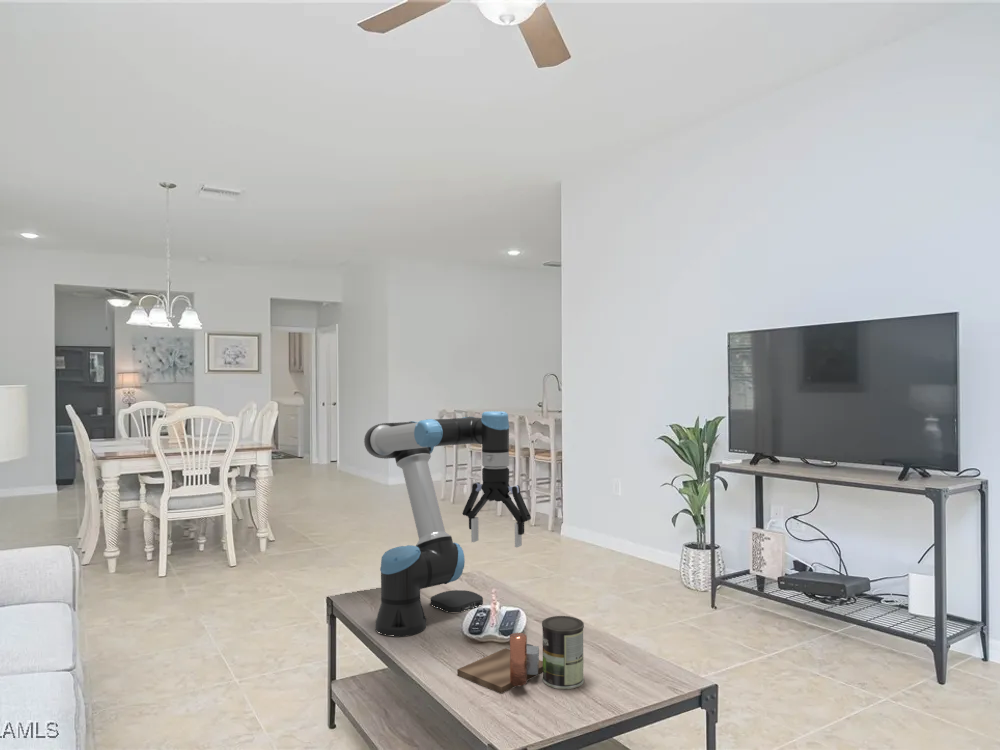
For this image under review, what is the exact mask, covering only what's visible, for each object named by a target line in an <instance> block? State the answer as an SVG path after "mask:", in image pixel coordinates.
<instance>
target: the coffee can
mask: <svg viewBox="0 0 1000 750" xmlns="http://www.w3.org/2000/svg"><path fill="white" fill-rule="evenodd" d="M584 624H585V623H584V622H583V620H581V619H580V618H577V617H574V616H570V615H569V616H567V615H555V616H550V617H547V618H544V619H543V620H542V621H541V627H542V661H543V673H542V678H541V679H542V682H543V683H544V684H545V686H548V687H550V688H553V689H557V690H573V689H575V688H578V687H581V686H582V685H583V684H584V681H585V679H584V626H585V625H584Z"/></svg>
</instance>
